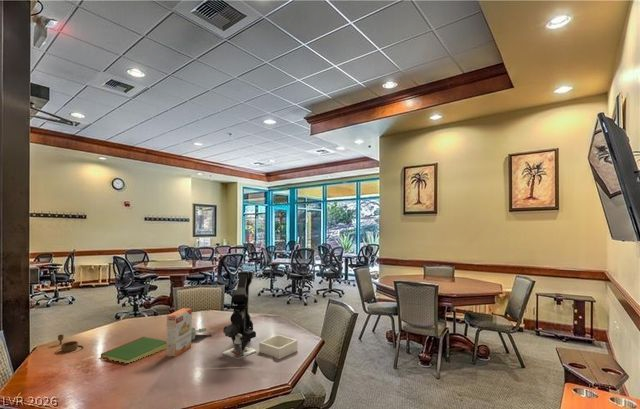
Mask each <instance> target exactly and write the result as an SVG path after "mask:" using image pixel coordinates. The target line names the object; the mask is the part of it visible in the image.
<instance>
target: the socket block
mask: <svg viewBox="0 0 640 409" xmlns="http://www.w3.org/2000/svg"><path fill="white" fill-rule="evenodd" d="M255 353H257V349H255V348H251V347H250V346H249V347H248V346H246V347H245V353H242V354H240V355H237V354H234V347H232V348H229V349H228V350H224V351H222V352H221V354H222V355H224V356H228V357H231V358H234V359H237V360H239V359H240V360H241V359H242V358H244V357H245V358H246V357H248V356H250V355H253V354H255Z"/></svg>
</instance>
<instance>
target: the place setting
mask: <svg viewBox="0 0 640 409" xmlns="http://www.w3.org/2000/svg"><path fill="white" fill-rule="evenodd" d="M57 340H58V342H59V345H60V348H59V349H57V350H56V351H54V353H55V354H57V352H58V351H60V350H61V352H62V353H71V352H73V354H74V353H78V352H81V351H82V350H84V345H80V344H78V343H79V342H78V341H76V340H75V341H74V340H73V341H67V342H64V343H63V342H62V341H63V340H64V334H59V335H57ZM78 348H81V349H79V350H78V351H76V350H77V349H78Z"/></svg>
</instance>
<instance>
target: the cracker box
mask: <svg viewBox="0 0 640 409" xmlns="http://www.w3.org/2000/svg"><path fill="white" fill-rule="evenodd" d="M192 313H193V309H192V308H189V307H188V308H186V307H182V308H180V309H177V310H176V311H174V312H172V313H170V314H168V315H166V340H165V341H166V349H165V350H166V351H165V356H166V357H171V356H174V357H173V358H175V357H178V356H180V355H181V354H182V353H184V352H186V351H188V350H189V349H190V348H191V347H192V339H191V328H192V323H193V322H192V320H193V319H192V315H193V314H192Z"/></svg>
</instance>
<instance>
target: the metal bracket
mask: <svg viewBox="0 0 640 409" xmlns="http://www.w3.org/2000/svg"><path fill="white" fill-rule="evenodd" d="M196 333H200V334H201V333H202V334H203V333H214V330H207V327H204V328H199V329H196V328H195V327H191V340H195V339H196Z"/></svg>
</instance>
